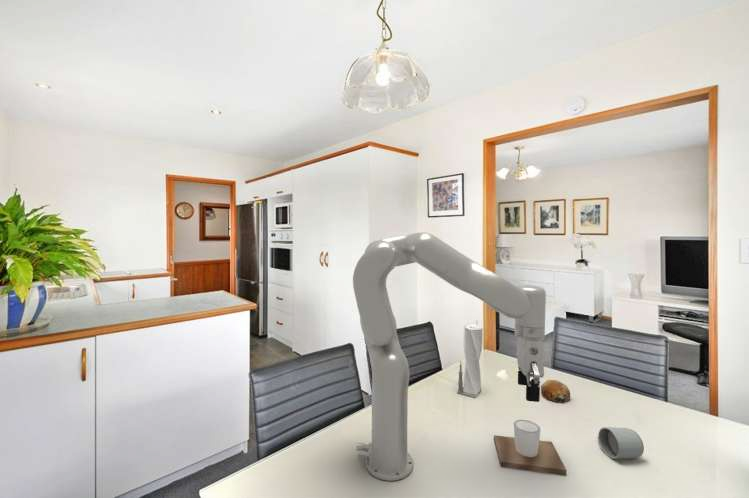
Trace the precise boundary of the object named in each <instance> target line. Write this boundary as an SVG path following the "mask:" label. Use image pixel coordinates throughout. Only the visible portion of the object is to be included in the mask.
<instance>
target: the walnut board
mask: <svg viewBox="0 0 749 498" xmlns="http://www.w3.org/2000/svg"><path fill="white" fill-rule="evenodd" d="M493 443H494V447H495V451H496V455H497V459H498V463H499V466H500V468H504V469H505V468H506V469H513V470H521V471H529V472H535V473H542V474H550V475H557V476H558V475H559V476H566V477H567V471H568V470H567V468H566V467H565V465H564V462H563V461H562V459H561V457H560V455H559V453H558V451H557V449H556V448H555V446H554V445H555V444H553V442H552V441H550V440H549V441H547V440H540V439H539V446H538V454H537V455H536V456H534V457H527V456H524V455H521V454H520V453H518V452H517V450H516V447H515V436H513V437H512V436H504V435H496V434H495V435H493Z"/></svg>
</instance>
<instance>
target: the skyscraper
mask: <svg viewBox="0 0 749 498" xmlns="http://www.w3.org/2000/svg"><path fill="white" fill-rule="evenodd" d="M470 322H476V323H475V324H469V323H470ZM478 323H479V320H478V319H470V320H468V321H467V322H465V324H464V326H463V354H464V360H465V365H464V372H463V371H462V370H463V369H462V366H463V365H462V360H460V364H459V371H458V384H457V385H458V386H457V387H458V389H457V391H456V393H457V394H458V395H462V396H466V397H469V398H473V399H476V398H477V397H478V395H479V394H480V393H481V392H482V379H481V378H482V377H481V376H482V375H481V366H480V358H481V354H482V348H483V339H484V338H483V336H484V335H483V331H484V330H483V327H481V326H477V325H478ZM468 324H469V325H468ZM467 325H468V326H467ZM463 373H464V374H463ZM463 376H464V377H463Z"/></svg>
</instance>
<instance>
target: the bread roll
mask: <svg viewBox="0 0 749 498" xmlns="http://www.w3.org/2000/svg"><path fill="white" fill-rule="evenodd" d="M569 389H570V388H569V387H568V386H567V385H566V384H565V383H563V382H561V381H560V380H555V379H547V380H546V381H545V382H543V383H542V384H540V391H541V396H542V397H543V398H544V399H546V400H547V401H549V402H554V403H557V404H558V403H559V404H562V403H567V402H568V401H569V400H570V399H571V392H570V390H569Z"/></svg>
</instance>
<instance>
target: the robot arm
mask: <svg viewBox="0 0 749 498" xmlns="http://www.w3.org/2000/svg"><path fill="white" fill-rule="evenodd" d="M415 263H417V264H418V265H420V266H421V267H423V268H424V269H426V270H427V271H429V272H431V273H433V275H435V276H437V277H439V278H440V279H442V280H443V281H445V282H446V283H448V284H449V285H451V286H453V287H455V288H457V290H458V289H459V290H460V291H461V292H465V293H467V294H469V295H471V296H473V297H475V298H477V299H479V300H480V301H482V302H483V303H485V304H486V305H487V307H488V308H490V309H491V310H493V311H495V312H496V313H499V314H501V315H503V316H504V317H507V318H509V319H514V336H515V337H517V348H516V349H517V350H516V351H517V352H516V353H517V354H516V360H517V361H516V362H517V366H518V367H517V369H518V370H517V385H519V386H525V400H526V401H527V402H534V403H539V402H540V400H541V399H540V396H541V395H540V391H541V381H540V379H542V378H544V377H545V360H544V358H545V357H544V354H545V353H544V345H543V343H544V342H543V340H545V338H546V336H545V335H546V306H547V305H546V304H547V303H546V302H547V299H546V297H547V295H546V294H547V293H546V290H545V289H544V288H543V287H542V286H538V285H537V286H536V285H518V286H517V285H515V284H513V283H512V282H510V281H508V280H506V279H505V278H503V277H501V276H500V275H498V274H496V273H495V272H492V271H491V270H489V269H487V268H486V267H485V266H483V265H481V264H480V263H478V262H476V260H475V261H474V260H472V259H471V258H470V257H468V256H467V255H465V254H463V253H461V252H460V251H458V250H457V249H456V248H453V247H452V246H451V245H449V244H448V243H447V242H445V241H443V240H442V239H440V238H438V237H437V236H435V235H434V234H431V233H429V232H415V233H410V234H406V235H401V236H396V237H389V238H384V239H378V240H377V239H376V240H374V241H371V242H370V243H369V244H368V245H367V246H366V248H365V249H364V253H363V254H362V256H361V257H360V258H359V260H358V261H357V262H356V265H355V268H354V270H353V275H352V288H353V293H354V296H355V302H356V306H357V311H358V314H359V323H360V327H361V331H362V334H363V337H364V340H365V344H366V349H367V353H368V355H369V356H368V357H369V360H370V365H371V377H372V378H371V380H372V381H371V443H363V442H362V443H361V442H357V444H356V449H355V450H356V451H357V452H358V457H363V458H365V457H366V458H365V467H366V470H367V471H368V472H369V474H371V475H372V476H374V477H375V478H377V479H379V480H383V481H386V482H387V481H388V482H390V481H391V482H394V481H398V480H402V479H404V478H406V477H408V476H409V475H410V474H411V472H412V471H413V468H414V459H413V457H412V455H411V454H410V453H409V452H408V414H409V413H408V410H409V409H408V408H409V407H408V405H409V403H408V398H409V397H408V396H409V394H408V393H409V384H410V383H409V382H410V365H409V362H408V359H407V357H406V355H405V353H404V350H403V349H402V347H401V344H400V341H399V336H398V333H397V319H396V317H395V315H394V311H393V309H392V307H391V306H392V305H391V302H390V299H389V292H388V290H387V289H388V288H387V279H388V276H389V275H390V273H391V272H392V271H393V270H394V269H395V268H396V267H400V266H406V265H410V264H415Z"/></svg>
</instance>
